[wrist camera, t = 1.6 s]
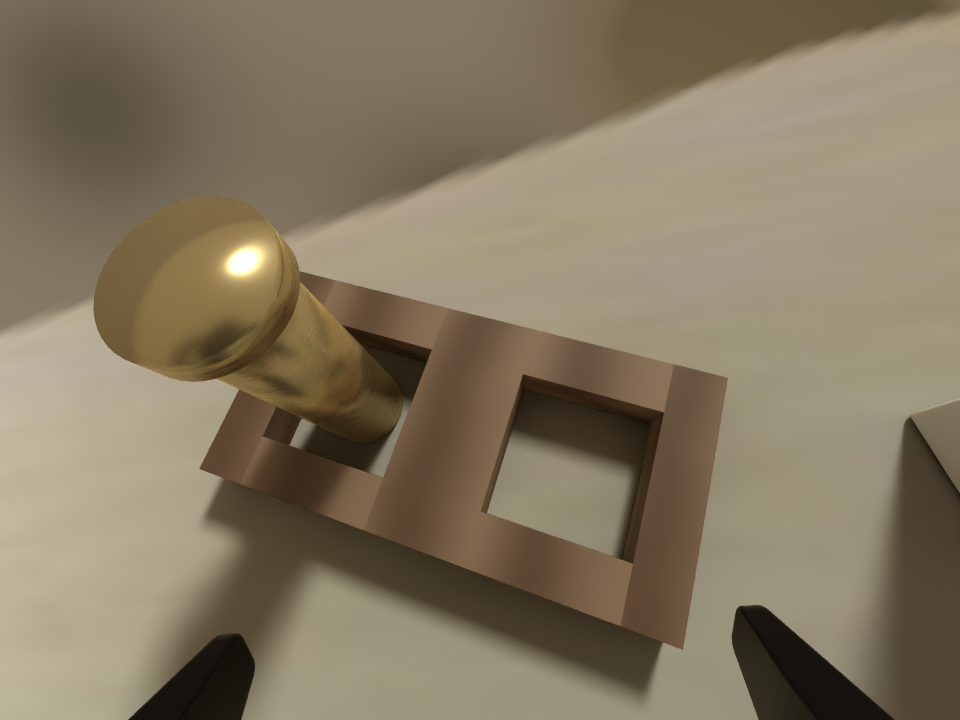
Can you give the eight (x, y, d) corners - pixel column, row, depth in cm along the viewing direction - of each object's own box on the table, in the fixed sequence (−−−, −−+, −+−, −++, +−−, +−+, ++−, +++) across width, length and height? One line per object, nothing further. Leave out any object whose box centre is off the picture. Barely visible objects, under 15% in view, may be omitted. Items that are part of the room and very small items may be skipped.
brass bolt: (374, 471, 23) (181, 404, 11) (302, 420, 25) (56, 307, 12) (430, 390, 24) (316, 242, 12) (359, 345, 26) (188, 171, 13)
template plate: (708, 393, 23) (727, 377, 20) (665, 635, 19) (682, 649, 17) (318, 293, 27) (298, 271, 25) (232, 474, 24) (199, 468, 22)
